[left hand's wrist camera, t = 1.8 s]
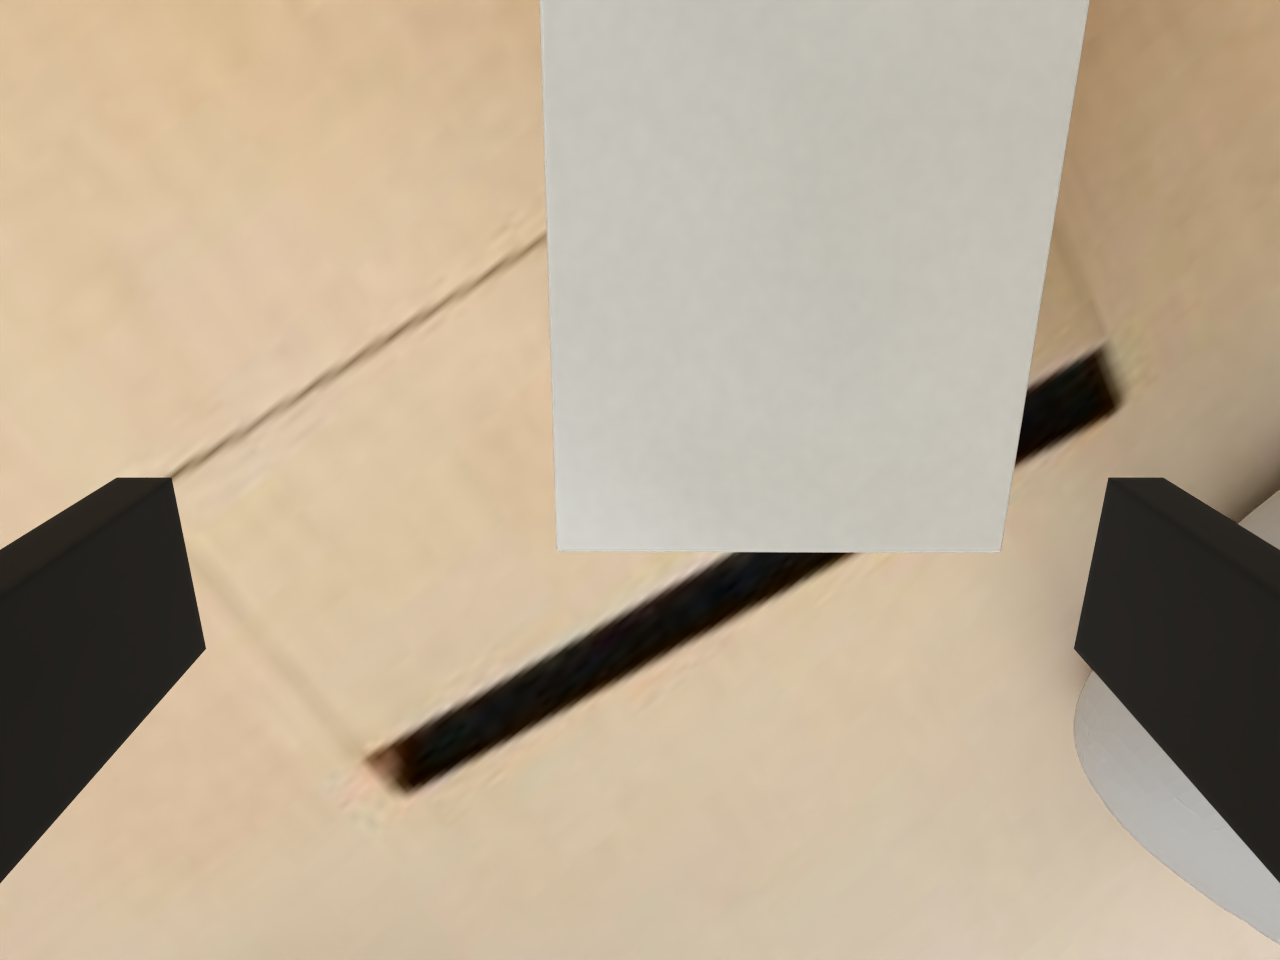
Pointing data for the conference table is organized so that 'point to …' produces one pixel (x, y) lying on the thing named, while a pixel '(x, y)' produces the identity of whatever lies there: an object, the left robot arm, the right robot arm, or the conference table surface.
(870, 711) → the conference table surface
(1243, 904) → the projector
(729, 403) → the cabinet
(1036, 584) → the conference table surface
